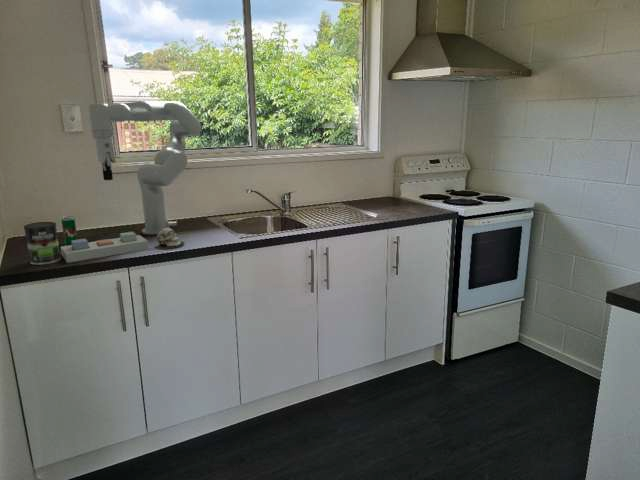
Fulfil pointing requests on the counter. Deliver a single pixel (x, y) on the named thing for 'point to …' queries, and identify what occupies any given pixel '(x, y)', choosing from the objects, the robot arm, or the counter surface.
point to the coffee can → (42, 243)
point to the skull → (168, 239)
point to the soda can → (69, 229)
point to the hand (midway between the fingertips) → (108, 179)
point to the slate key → (79, 244)
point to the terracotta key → (104, 242)
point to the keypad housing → (103, 249)
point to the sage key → (128, 237)
